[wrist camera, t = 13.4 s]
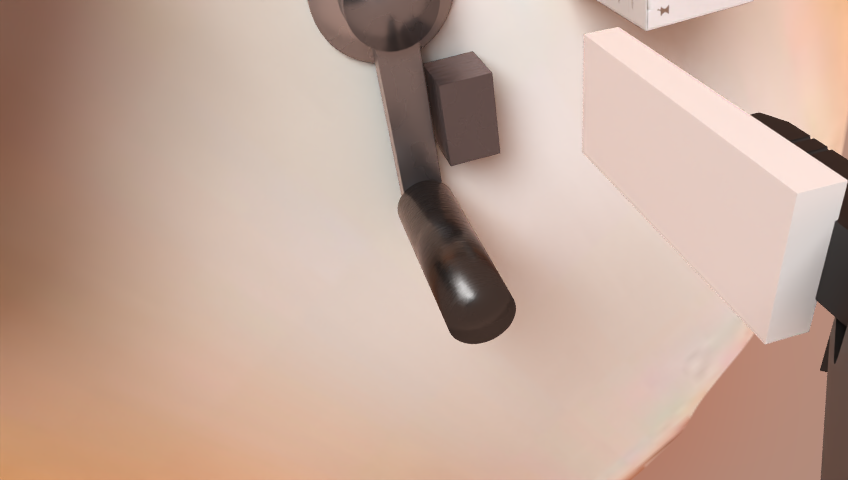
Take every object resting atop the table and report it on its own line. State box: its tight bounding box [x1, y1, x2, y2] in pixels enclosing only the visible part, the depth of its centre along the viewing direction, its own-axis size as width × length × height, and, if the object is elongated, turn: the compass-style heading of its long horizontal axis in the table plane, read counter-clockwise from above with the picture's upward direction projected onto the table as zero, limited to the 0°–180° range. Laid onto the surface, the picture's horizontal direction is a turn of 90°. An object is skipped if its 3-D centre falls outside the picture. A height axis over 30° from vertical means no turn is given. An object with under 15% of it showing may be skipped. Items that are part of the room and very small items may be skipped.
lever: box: [337, 0, 516, 344], centre depth 38 cm, size 17×7×12 cm, turn 9°
